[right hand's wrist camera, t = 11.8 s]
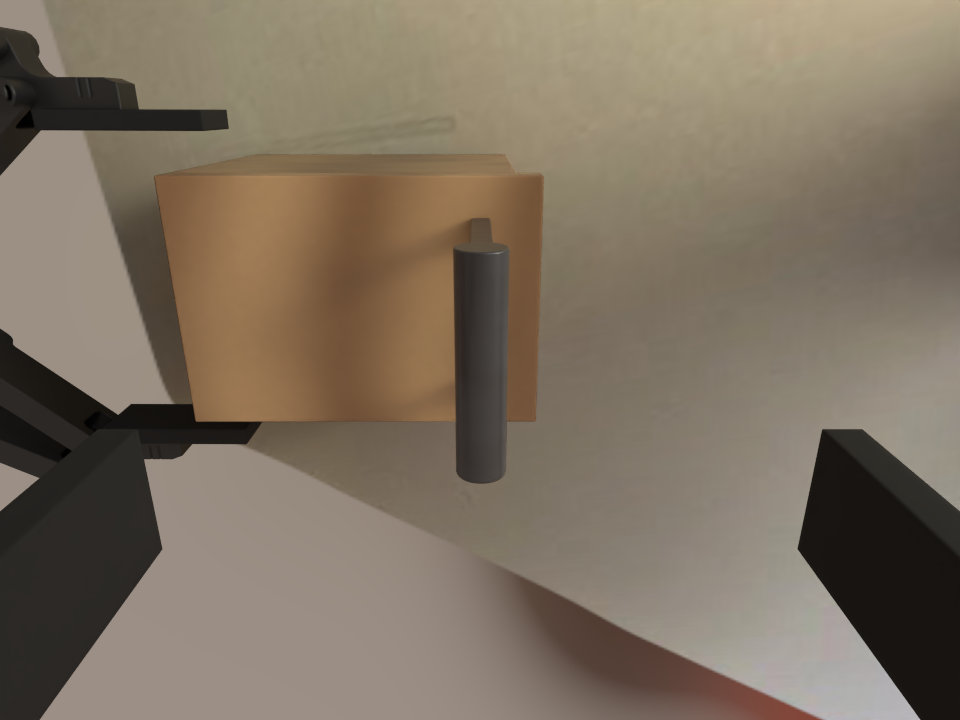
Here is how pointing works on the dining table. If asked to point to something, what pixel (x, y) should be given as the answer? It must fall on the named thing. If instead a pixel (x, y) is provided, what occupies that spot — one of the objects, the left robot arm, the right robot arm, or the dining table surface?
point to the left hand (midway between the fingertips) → (238, 284)
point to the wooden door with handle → (360, 299)
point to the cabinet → (359, 164)
